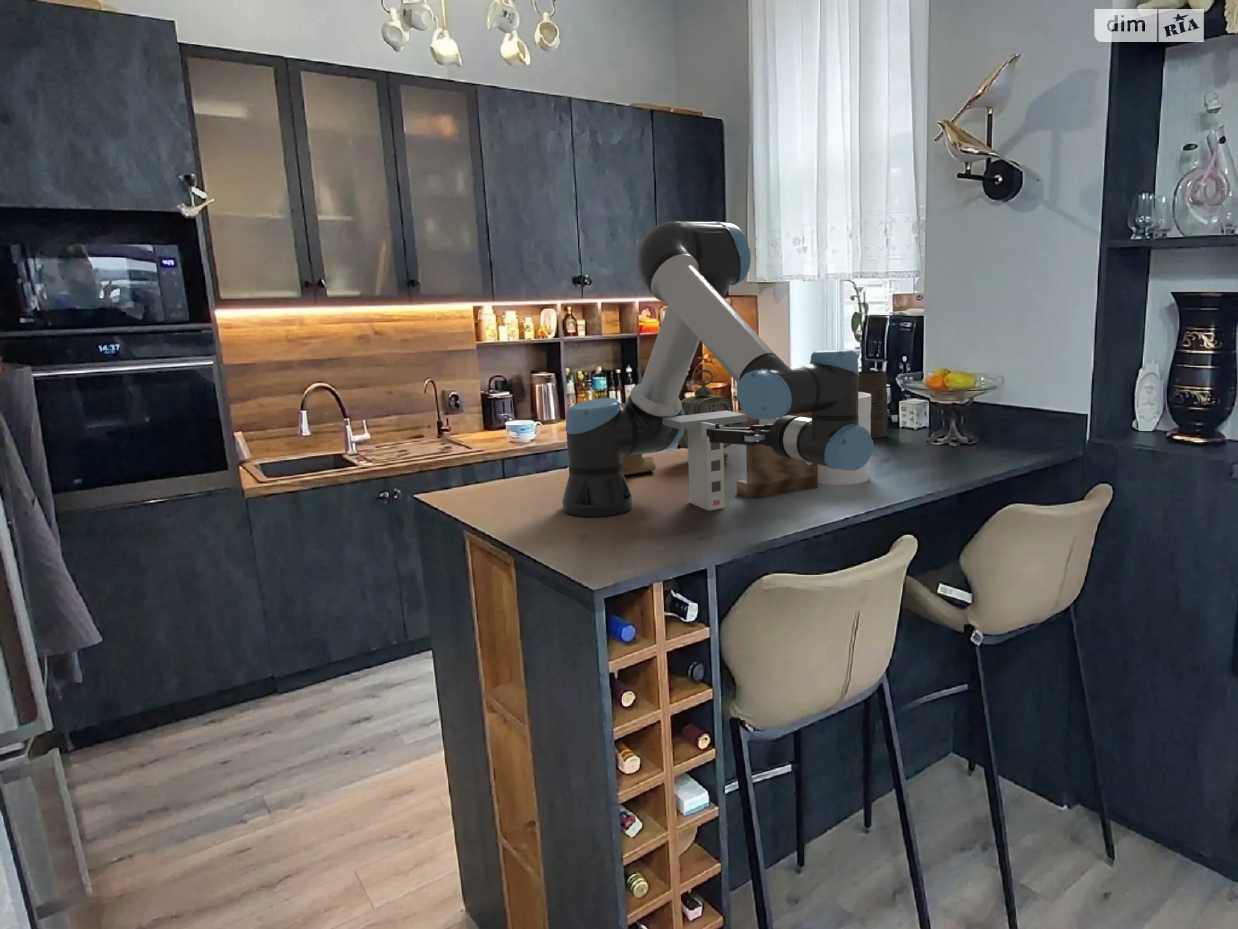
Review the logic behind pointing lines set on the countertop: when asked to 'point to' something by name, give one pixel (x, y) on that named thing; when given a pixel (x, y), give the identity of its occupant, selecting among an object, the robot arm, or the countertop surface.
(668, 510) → the countertop surface
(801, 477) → the bracket
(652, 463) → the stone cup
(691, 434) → the power strip
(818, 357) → the robot arm
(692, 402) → the tabletop clock
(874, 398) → the beer stein
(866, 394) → the canister
